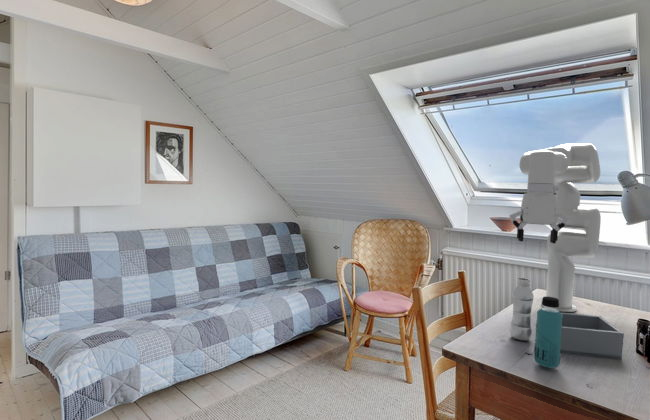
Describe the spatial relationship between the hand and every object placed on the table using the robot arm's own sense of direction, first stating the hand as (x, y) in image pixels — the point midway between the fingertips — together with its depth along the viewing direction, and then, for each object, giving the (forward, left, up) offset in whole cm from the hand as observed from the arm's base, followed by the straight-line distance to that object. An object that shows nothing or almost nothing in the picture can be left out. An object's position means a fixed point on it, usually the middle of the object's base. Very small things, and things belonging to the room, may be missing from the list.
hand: (536, 241), depth 128 cm
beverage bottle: (+22, -2, -32) cm, 39 cm away
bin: (+3, +13, -32) cm, 35 cm away
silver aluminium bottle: (+2, -4, -32) cm, 33 cm away
